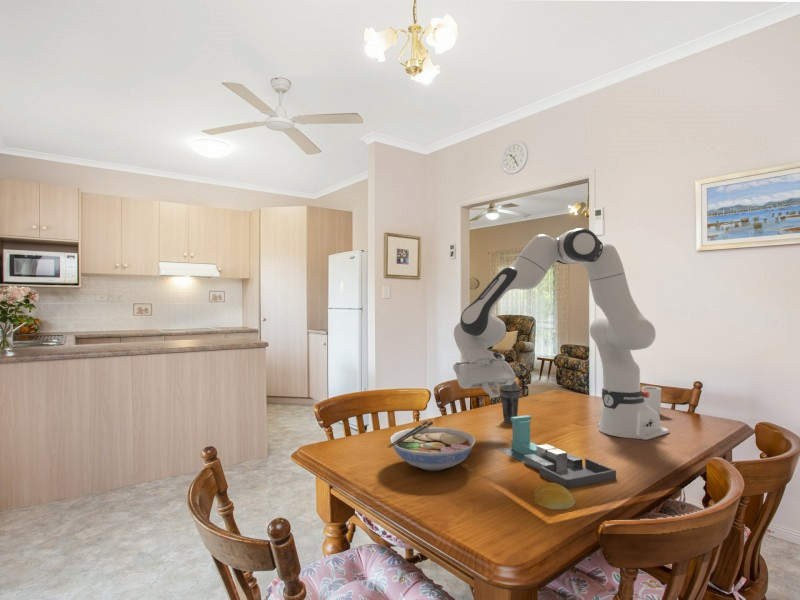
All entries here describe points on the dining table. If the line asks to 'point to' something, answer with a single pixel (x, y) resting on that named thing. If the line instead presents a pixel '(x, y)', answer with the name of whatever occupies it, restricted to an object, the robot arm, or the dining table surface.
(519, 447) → the rake tool
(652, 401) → the drinking glass
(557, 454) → the chip
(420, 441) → the ramen bowl
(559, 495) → the bread roll
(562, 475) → the tray
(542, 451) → the beige cube
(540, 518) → the dining table surface
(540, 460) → the slot board
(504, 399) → the beverage cup
